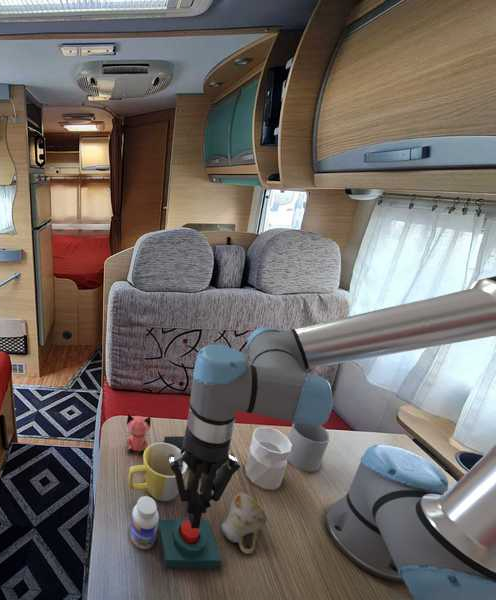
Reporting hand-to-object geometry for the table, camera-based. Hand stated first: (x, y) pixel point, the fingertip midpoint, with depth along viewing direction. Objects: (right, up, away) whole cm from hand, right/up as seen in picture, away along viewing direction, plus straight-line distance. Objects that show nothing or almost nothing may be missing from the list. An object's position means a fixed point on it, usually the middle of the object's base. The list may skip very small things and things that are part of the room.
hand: (193, 521), depth 66 cm
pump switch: (0, -7, +3) cm, 8 cm away
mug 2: (+12, -6, +6) cm, 15 cm away
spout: (+6, +4, +25) cm, 26 cm away
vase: (+24, -1, +20) cm, 31 cm away
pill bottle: (-9, -6, +5) cm, 12 cm away
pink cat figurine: (-8, +2, +27) cm, 28 cm away
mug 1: (-5, -2, +15) cm, 16 cm away
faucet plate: (+6, +2, +25) cm, 26 cm away
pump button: (0, -4, +2) cm, 4 cm away
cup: (+37, +1, +25) cm, 45 cm away
